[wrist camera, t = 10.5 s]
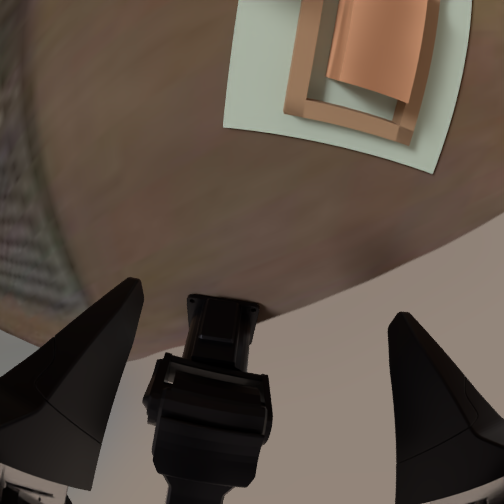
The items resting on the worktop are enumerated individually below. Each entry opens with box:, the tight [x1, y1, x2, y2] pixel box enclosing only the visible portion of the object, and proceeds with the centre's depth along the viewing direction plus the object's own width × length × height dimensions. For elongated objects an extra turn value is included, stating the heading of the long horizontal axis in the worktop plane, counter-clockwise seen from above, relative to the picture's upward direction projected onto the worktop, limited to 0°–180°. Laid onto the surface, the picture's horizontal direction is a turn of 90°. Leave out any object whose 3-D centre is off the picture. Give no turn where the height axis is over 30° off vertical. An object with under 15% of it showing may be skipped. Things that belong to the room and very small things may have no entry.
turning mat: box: [223, 0, 472, 174], centre depth 10 cm, size 16×14×2 cm
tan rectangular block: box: [325, 0, 428, 103], centre depth 9 cm, size 4×8×4 cm, turn 173°
